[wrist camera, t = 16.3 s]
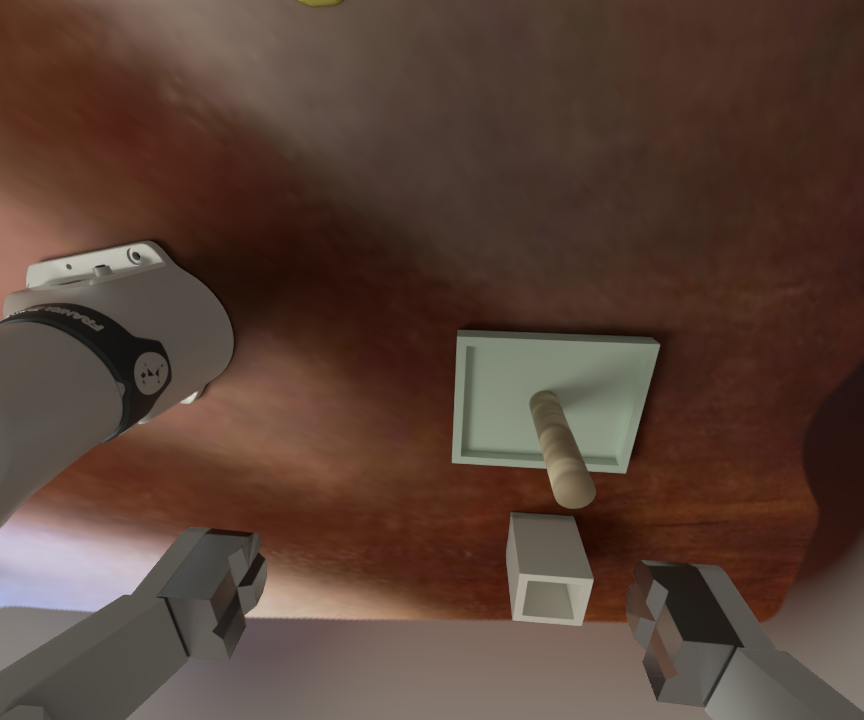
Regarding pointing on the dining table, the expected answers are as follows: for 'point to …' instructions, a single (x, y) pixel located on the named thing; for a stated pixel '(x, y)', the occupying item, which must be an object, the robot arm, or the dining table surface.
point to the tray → (558, 373)
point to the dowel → (561, 452)
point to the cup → (547, 569)
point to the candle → (320, 2)
